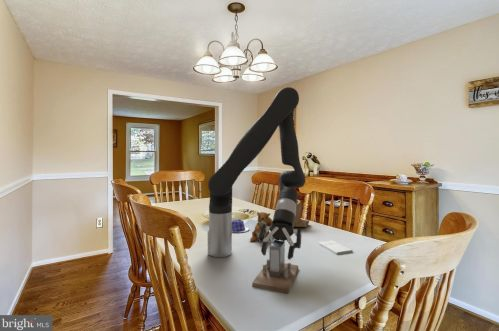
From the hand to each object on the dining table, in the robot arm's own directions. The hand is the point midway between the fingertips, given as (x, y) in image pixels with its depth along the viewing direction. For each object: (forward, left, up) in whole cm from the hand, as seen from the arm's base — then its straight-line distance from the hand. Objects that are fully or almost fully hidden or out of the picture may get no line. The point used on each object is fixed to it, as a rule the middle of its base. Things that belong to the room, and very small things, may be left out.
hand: (276, 256), depth 82 cm
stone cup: (+10, +60, -8) cm, 62 cm away
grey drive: (0, +1, -6) cm, 6 cm away
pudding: (-21, +50, -8) cm, 55 cm away
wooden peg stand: (0, +1, -7) cm, 7 cm away
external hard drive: (+25, +30, -8) cm, 40 cm away
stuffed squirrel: (-7, +39, -8) cm, 40 cm away
